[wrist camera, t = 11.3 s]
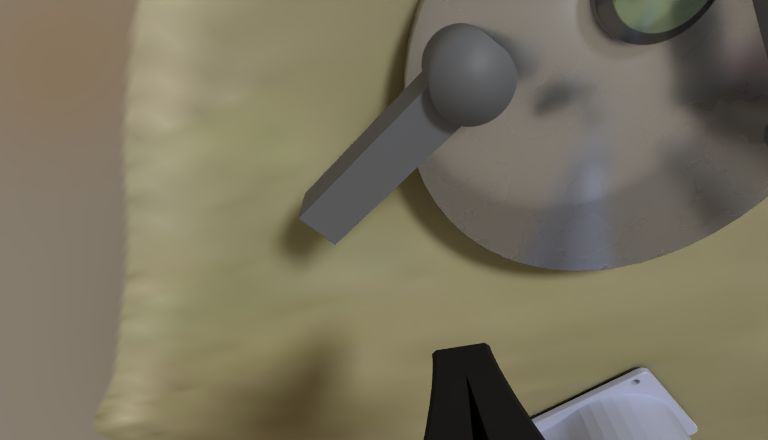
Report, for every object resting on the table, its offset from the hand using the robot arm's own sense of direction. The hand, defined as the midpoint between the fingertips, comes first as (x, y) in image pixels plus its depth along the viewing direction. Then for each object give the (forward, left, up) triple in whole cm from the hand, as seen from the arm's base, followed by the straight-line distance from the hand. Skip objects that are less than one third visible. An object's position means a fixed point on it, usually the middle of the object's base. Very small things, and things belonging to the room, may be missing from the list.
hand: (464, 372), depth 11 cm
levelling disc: (+8, -1, -9) cm, 13 cm away
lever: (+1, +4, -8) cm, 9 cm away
